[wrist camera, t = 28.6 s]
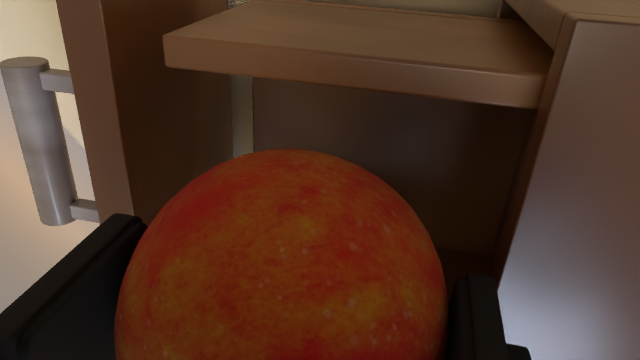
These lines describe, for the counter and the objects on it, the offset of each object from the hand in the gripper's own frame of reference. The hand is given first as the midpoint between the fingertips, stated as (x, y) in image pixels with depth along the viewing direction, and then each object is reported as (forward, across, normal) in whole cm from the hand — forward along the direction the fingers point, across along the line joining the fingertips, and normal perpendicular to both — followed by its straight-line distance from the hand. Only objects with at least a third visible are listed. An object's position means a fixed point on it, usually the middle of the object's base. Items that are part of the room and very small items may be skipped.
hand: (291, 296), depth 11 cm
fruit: (+3, 0, 0) cm, 3 cm away
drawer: (+10, +2, 0) cm, 10 cm away
